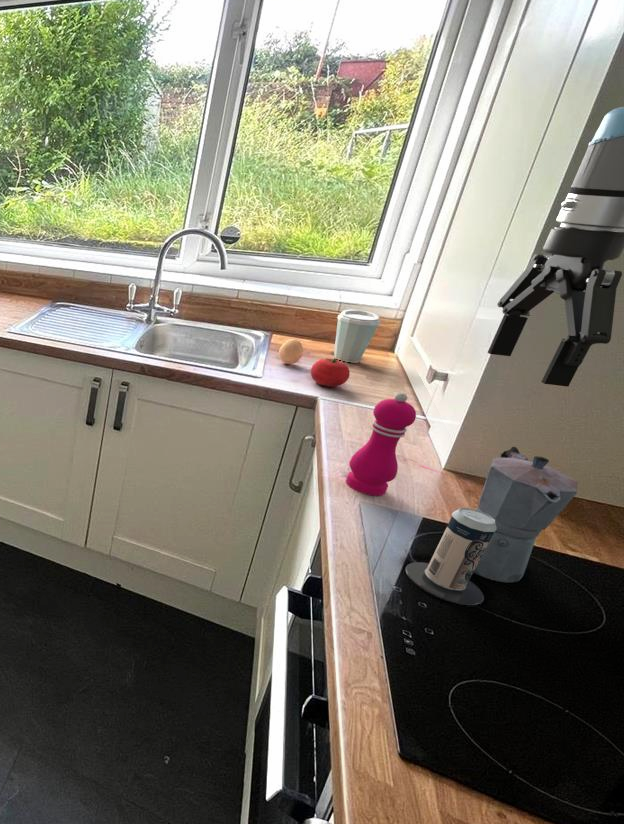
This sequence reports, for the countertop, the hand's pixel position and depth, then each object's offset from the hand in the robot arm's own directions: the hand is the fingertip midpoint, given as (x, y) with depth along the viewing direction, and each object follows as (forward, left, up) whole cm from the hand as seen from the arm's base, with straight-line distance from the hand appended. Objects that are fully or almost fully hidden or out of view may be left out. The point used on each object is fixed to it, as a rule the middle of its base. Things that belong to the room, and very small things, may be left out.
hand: (524, 368), depth 89 cm
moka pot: (-7, +6, -30) cm, 32 cm away
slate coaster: (-7, +18, -30) cm, 36 cm away
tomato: (+50, -48, -30) cm, 75 cm away
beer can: (-7, +18, -30) cm, 35 cm away
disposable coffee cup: (+61, -76, -30) cm, 102 cm away
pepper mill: (+14, 0, -30) cm, 33 cm away
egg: (+65, -54, -30) cm, 89 cm away
